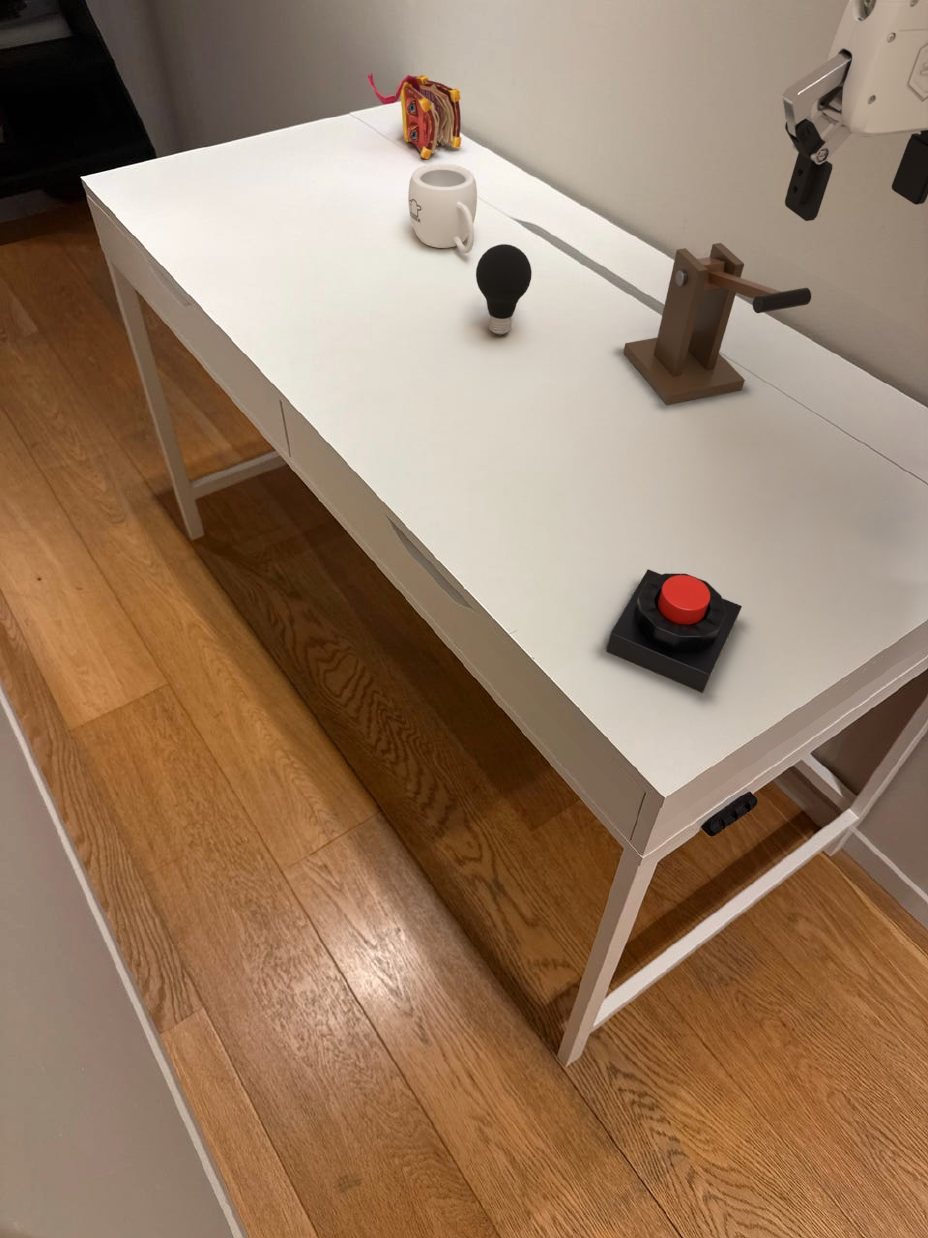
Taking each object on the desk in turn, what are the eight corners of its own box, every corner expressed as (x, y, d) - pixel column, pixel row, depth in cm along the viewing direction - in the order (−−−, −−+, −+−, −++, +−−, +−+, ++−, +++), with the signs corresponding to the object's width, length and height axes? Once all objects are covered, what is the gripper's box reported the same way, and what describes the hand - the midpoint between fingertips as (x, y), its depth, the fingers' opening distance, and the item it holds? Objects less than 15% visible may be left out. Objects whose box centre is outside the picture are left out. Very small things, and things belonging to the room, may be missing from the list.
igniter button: (711, 601, 68) (716, 585, 67) (695, 632, 66) (701, 616, 65) (667, 583, 69) (672, 568, 68) (650, 613, 67) (655, 598, 66)
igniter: (734, 623, 72) (748, 590, 69) (703, 693, 67) (716, 660, 64) (642, 586, 74) (652, 553, 71) (605, 651, 69) (613, 618, 66)
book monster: (465, 151, 130) (391, 169, 127) (438, 130, 135) (366, 147, 132) (463, 70, 122) (384, 87, 118) (434, 51, 127) (358, 67, 124)
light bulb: (464, 326, 99) (467, 239, 92) (510, 315, 101) (517, 229, 93) (487, 353, 96) (492, 265, 88) (534, 342, 98) (544, 255, 90)
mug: (397, 230, 114) (396, 167, 108) (455, 218, 116) (457, 155, 110) (440, 273, 107) (441, 207, 101) (501, 258, 110) (505, 194, 104)
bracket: (742, 389, 93) (778, 274, 83) (666, 404, 91) (695, 288, 81) (695, 339, 99) (724, 226, 89) (623, 352, 97) (645, 238, 87)
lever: (809, 311, 78) (813, 283, 76) (760, 320, 77) (764, 291, 75) (718, 280, 89) (721, 254, 88) (675, 287, 88) (676, 261, 86)
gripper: (875, -60, 49) (784, 242, 62) (1111, -74, 53) (980, 211, 66) (798, -88, 54) (728, 198, 67) (1020, -100, 58) (914, 172, 71)
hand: (853, 204), depth 66 cm, fingers open, 9 cm apart
